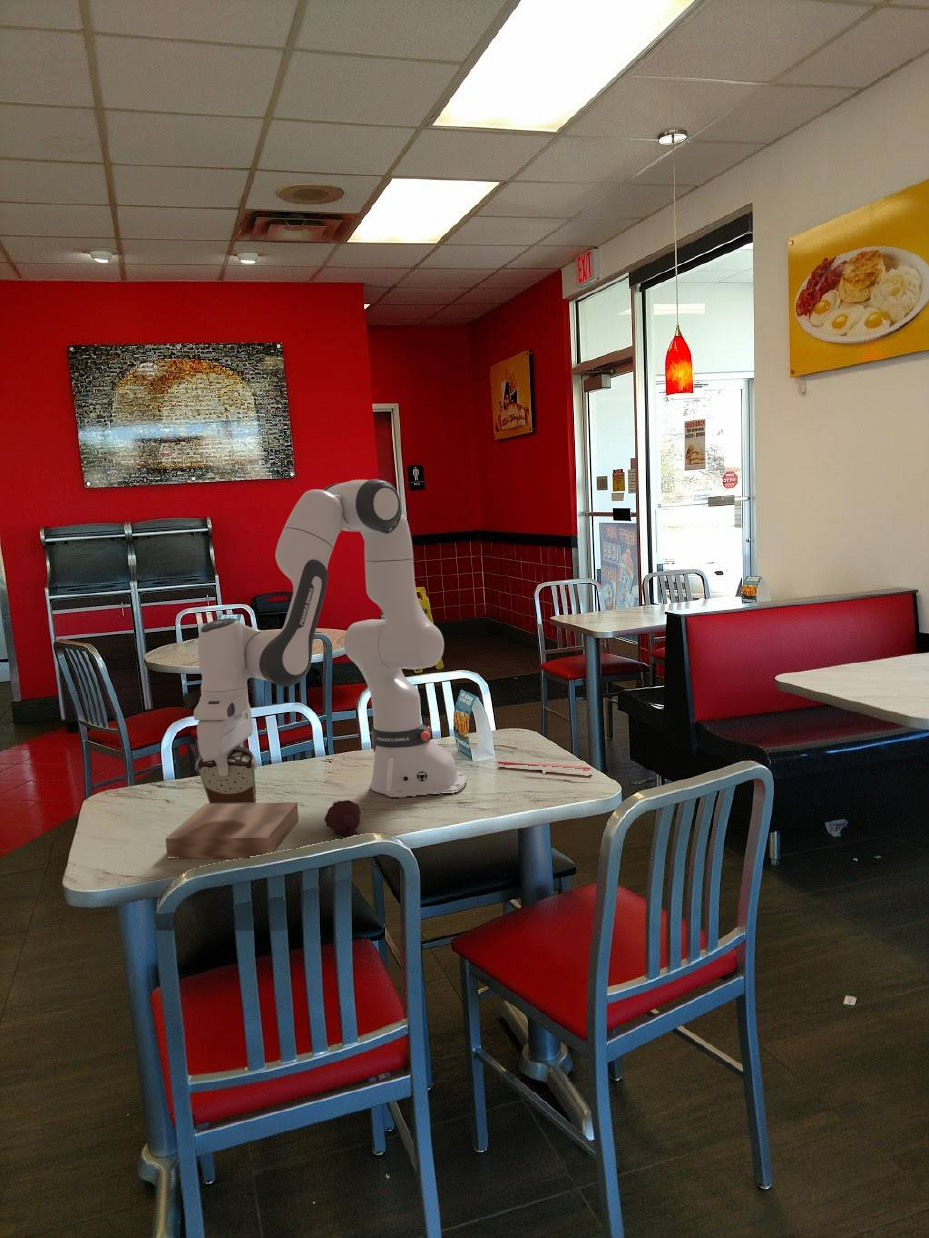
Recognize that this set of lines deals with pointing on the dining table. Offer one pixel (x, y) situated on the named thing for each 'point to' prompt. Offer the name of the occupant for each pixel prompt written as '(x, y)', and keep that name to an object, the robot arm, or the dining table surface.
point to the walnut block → (233, 830)
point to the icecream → (343, 817)
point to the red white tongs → (541, 765)
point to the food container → (230, 778)
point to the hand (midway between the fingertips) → (230, 769)
